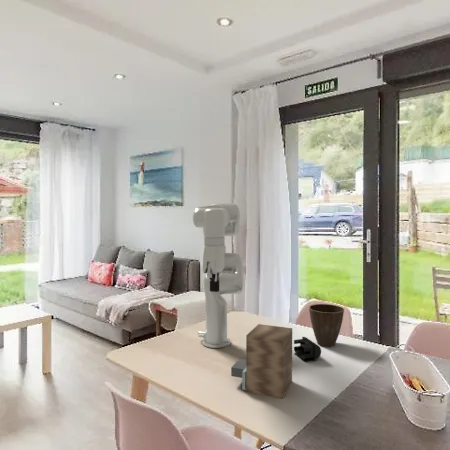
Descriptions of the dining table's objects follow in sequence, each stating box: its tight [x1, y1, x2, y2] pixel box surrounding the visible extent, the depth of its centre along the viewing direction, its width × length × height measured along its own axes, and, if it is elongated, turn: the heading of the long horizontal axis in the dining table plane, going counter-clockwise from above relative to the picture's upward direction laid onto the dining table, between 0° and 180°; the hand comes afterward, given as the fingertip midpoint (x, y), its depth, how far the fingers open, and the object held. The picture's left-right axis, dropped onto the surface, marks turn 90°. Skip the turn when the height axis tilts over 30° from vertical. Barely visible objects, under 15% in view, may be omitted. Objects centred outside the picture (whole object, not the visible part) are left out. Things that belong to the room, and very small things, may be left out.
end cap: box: [293, 336, 322, 363], centre depth 151 cm, size 10×7×7 cm
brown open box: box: [245, 323, 293, 399], centre depth 126 cm, size 12×13×19 cm
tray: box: [230, 358, 246, 391], centre depth 128 cm, size 18×14×6 cm
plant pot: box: [308, 303, 345, 348], centre depth 166 cm, size 15×15×16 cm
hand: (214, 291), depth 140 cm, fingers closed
